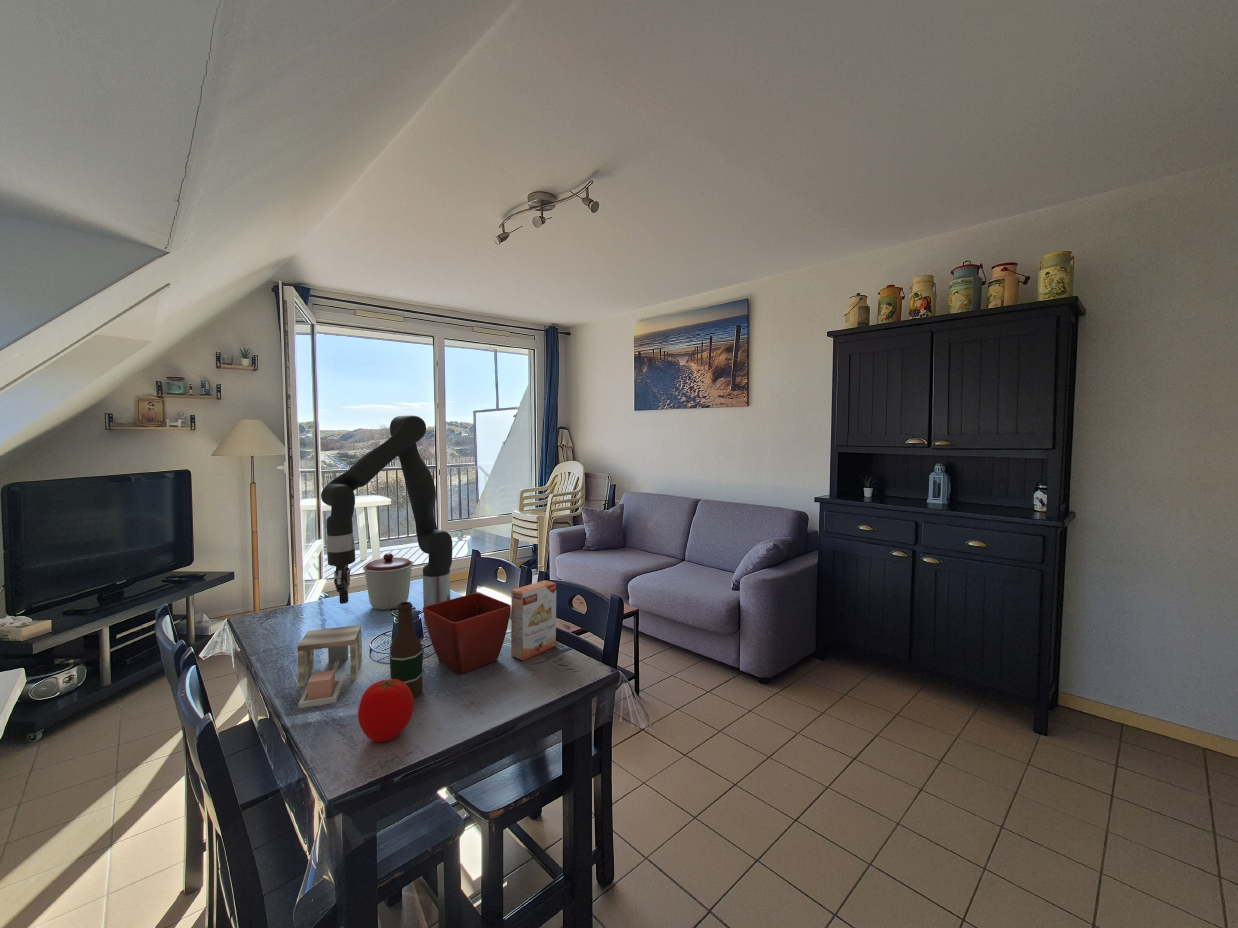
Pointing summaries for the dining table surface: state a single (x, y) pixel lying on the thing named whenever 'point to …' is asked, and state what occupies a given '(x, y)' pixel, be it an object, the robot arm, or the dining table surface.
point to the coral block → (321, 685)
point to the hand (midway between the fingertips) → (344, 602)
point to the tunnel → (328, 640)
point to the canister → (388, 581)
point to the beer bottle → (406, 651)
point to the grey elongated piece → (335, 655)
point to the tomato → (385, 709)
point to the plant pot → (467, 630)
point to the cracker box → (533, 619)
